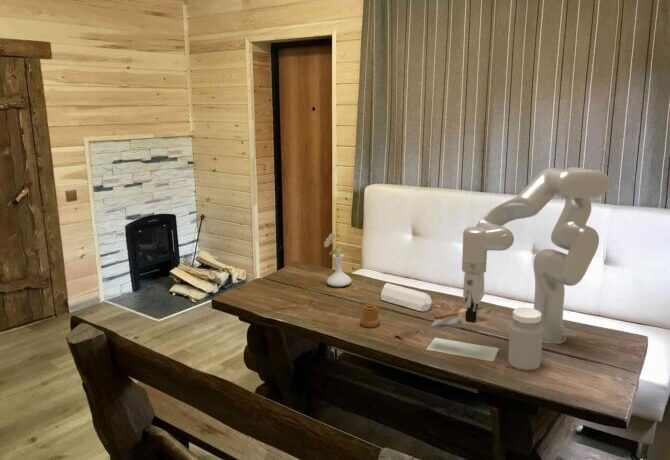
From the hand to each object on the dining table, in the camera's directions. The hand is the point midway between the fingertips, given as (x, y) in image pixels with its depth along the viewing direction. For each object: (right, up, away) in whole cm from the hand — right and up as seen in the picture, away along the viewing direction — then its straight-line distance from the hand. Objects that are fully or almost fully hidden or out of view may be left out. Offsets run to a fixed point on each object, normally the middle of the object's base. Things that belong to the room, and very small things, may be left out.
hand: (471, 319), depth 182 cm
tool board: (-2, -11, +4) cm, 12 cm away
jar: (+15, -14, -6) cm, 21 cm away
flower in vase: (-43, +4, +72) cm, 84 cm away
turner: (-3, -1, +2) cm, 4 cm away
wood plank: (-15, -8, +17) cm, 24 cm away
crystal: (-16, -2, +48) cm, 50 cm away
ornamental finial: (-31, -7, +29) cm, 43 cm away
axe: (+5, -4, +35) cm, 35 cm away
